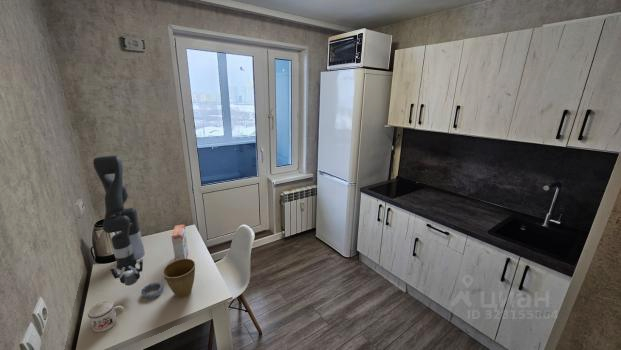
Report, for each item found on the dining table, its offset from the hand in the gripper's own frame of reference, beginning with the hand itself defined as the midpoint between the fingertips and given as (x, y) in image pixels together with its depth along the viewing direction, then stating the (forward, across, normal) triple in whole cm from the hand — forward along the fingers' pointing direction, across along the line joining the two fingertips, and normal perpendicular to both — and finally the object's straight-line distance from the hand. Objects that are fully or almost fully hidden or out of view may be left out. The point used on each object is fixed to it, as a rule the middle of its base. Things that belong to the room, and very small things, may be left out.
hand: (130, 280), depth 132 cm
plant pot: (+7, -23, +14) cm, 28 cm away
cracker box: (+8, -25, -19) cm, 33 cm away
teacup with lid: (+7, +8, +18) cm, 21 cm away
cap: (+1, 0, 0) cm, 1 cm away
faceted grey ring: (+7, -9, +6) cm, 13 cm away
